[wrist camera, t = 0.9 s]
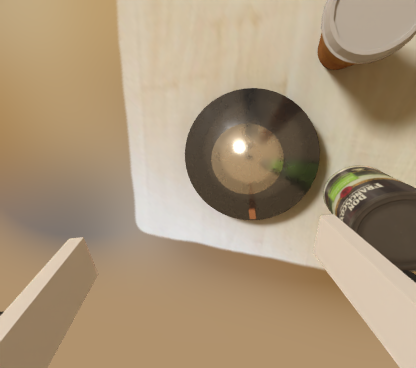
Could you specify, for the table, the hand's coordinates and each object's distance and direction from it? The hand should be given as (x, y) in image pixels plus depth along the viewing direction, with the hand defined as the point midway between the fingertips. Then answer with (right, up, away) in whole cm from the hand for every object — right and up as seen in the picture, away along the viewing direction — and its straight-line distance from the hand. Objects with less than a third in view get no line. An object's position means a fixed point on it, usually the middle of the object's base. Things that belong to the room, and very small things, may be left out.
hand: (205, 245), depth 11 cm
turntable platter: (+7, +8, +26) cm, 28 cm away
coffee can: (+27, +2, +24) cm, 36 cm away
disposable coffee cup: (+20, +24, +19) cm, 37 cm away
